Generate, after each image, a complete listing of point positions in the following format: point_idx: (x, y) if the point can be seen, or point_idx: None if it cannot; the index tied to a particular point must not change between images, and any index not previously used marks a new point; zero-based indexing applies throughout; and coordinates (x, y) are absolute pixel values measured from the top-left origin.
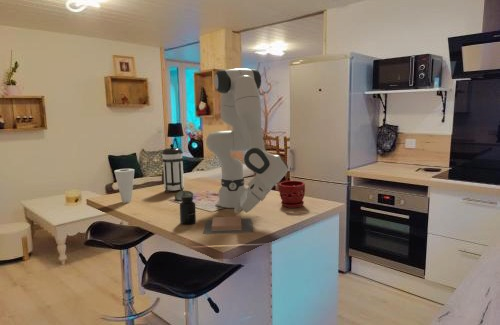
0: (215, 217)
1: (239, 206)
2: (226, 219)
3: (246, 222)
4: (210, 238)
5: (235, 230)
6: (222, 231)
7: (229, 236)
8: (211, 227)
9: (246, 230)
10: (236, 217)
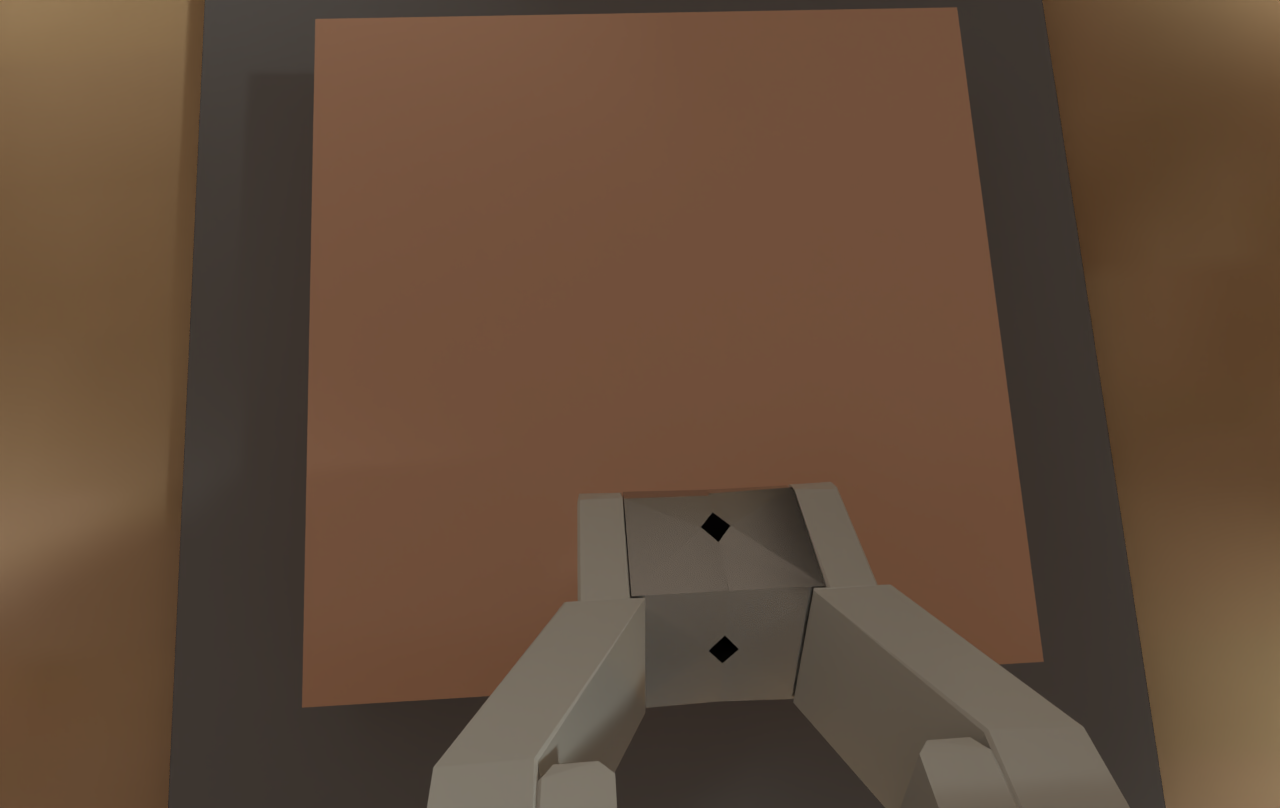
0: (949, 52)
1: (439, 783)
2: (789, 308)
3: (856, 788)
4: (33, 101)
5: None
6: (289, 283)
7: (76, 439)
8: None
9: (281, 804)
10: (947, 549)
